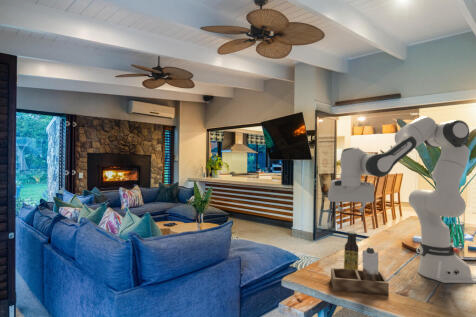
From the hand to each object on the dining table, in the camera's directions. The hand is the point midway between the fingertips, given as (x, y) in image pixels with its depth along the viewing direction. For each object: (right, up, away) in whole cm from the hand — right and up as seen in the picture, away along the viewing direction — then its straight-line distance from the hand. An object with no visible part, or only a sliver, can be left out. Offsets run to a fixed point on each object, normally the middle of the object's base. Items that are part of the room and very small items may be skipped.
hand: (350, 211), depth 138 cm
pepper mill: (+3, -30, -14) cm, 33 cm away
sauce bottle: (0, -30, 0) cm, 30 cm away
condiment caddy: (-2, -30, -13) cm, 32 cm away
